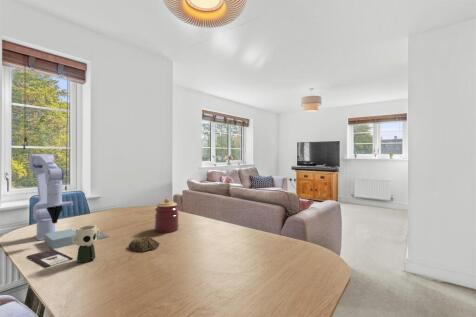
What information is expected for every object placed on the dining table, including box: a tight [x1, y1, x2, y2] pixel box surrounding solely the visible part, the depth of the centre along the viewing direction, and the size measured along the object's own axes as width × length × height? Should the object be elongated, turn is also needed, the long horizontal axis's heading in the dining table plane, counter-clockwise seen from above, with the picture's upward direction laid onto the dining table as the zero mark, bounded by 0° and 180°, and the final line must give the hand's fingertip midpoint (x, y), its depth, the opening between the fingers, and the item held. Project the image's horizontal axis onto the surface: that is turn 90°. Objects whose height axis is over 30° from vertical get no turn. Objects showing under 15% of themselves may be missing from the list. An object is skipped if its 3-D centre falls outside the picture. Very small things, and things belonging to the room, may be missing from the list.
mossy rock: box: [128, 236, 160, 253], centre depth 114 cm, size 13×12×5 cm
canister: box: [154, 197, 180, 233], centre depth 141 cm, size 13×13×18 cm
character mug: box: [72, 224, 101, 263], centre depth 99 cm, size 11×7×13 cm, turn 153°
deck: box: [44, 228, 76, 250], centre depth 119 cm, size 14×11×4 cm
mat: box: [96, 231, 110, 241], centre depth 128 cm, size 16×12×1 cm
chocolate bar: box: [26, 248, 73, 269], centre depth 101 cm, size 9×1×18 cm
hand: (54, 222), depth 117 cm, fingers closed
